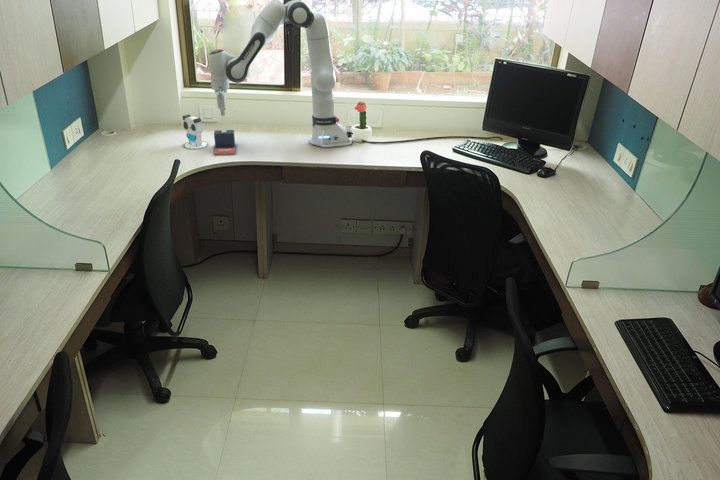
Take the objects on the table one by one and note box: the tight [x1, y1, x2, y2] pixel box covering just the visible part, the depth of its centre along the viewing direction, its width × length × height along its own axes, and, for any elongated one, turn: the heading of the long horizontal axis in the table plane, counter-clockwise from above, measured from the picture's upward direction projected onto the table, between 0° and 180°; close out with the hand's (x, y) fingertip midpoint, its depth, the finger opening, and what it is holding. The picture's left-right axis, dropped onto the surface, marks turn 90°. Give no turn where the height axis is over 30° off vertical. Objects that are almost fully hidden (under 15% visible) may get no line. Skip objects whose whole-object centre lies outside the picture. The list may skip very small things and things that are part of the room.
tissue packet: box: [214, 147, 236, 156], centre depth 316 cm, size 10×7×1 cm
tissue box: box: [213, 129, 236, 149], centre depth 321 cm, size 10×6×9 cm, turn 97°
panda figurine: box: [182, 114, 208, 150], centre depth 322 cm, size 12×11×15 cm
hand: (223, 112), depth 314 cm, fingers open, 8 cm apart
